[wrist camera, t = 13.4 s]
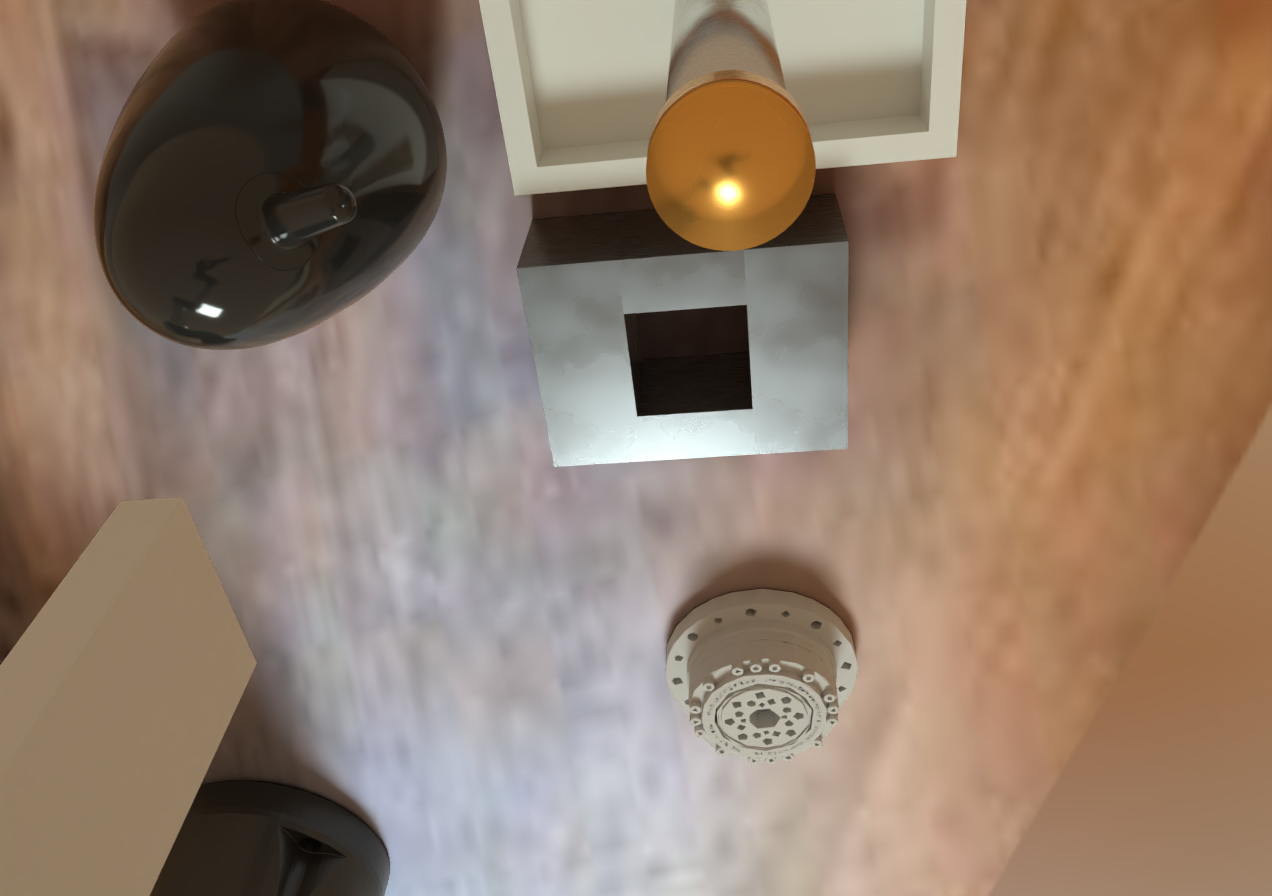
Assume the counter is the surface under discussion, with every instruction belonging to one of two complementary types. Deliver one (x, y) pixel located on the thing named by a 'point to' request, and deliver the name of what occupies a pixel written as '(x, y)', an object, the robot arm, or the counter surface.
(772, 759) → the mechanical component
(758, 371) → the block
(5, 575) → the counter surface
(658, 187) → the pin
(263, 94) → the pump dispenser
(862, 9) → the tray
